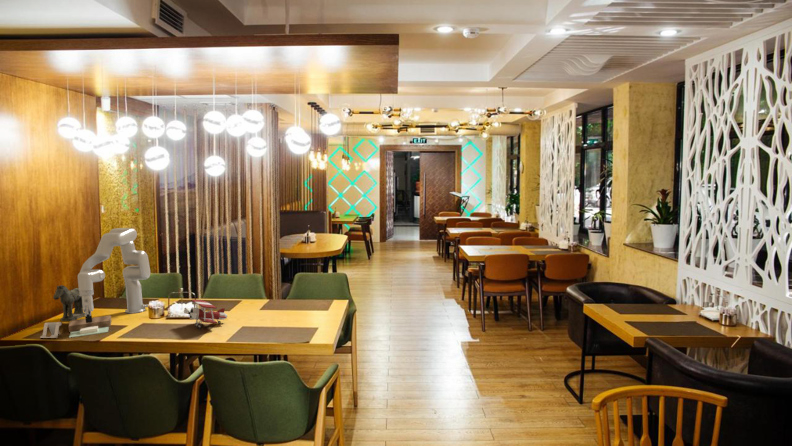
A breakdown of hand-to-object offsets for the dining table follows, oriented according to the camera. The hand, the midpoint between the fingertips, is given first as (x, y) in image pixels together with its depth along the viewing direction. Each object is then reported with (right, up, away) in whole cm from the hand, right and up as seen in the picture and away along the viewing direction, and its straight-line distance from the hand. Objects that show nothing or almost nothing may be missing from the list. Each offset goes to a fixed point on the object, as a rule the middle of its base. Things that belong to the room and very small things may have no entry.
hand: (89, 322), depth 318 cm
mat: (+2, -6, -3) cm, 7 cm away
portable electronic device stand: (-15, -7, -10) cm, 20 cm away
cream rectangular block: (+2, -3, -3) cm, 5 cm away
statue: (-28, -4, +27) cm, 39 cm away
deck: (-4, -5, +9) cm, 11 cm away
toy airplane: (+72, -3, +3) cm, 72 cm away
